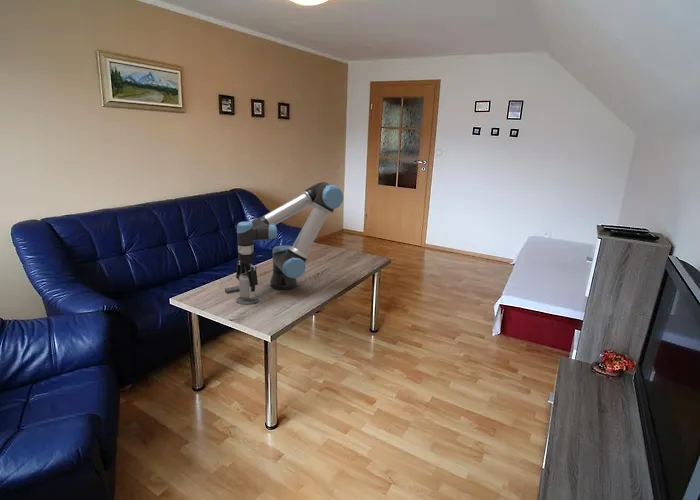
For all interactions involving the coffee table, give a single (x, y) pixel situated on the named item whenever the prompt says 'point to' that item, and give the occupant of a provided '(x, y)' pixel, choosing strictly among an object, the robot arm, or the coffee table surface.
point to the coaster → (247, 300)
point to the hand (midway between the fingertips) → (247, 294)
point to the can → (244, 285)
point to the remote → (232, 289)
